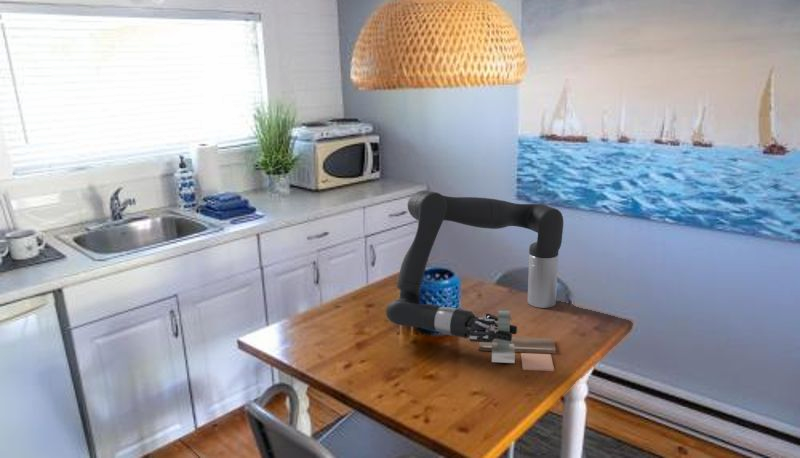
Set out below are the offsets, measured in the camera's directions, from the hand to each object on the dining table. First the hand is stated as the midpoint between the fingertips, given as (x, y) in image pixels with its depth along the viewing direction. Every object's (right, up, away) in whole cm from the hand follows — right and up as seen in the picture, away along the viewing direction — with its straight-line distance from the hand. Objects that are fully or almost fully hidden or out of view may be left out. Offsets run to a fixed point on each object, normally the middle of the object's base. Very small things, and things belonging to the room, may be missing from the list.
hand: (513, 333), depth 150 cm
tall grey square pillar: (-2, -7, +3) cm, 8 cm away
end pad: (+7, -8, +2) cm, 11 cm away
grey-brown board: (+3, -6, +12) cm, 13 cm away
